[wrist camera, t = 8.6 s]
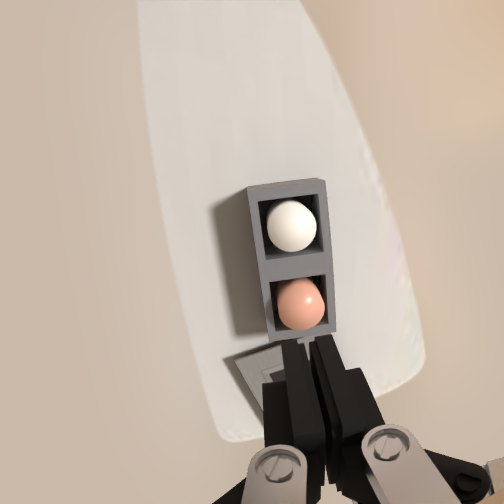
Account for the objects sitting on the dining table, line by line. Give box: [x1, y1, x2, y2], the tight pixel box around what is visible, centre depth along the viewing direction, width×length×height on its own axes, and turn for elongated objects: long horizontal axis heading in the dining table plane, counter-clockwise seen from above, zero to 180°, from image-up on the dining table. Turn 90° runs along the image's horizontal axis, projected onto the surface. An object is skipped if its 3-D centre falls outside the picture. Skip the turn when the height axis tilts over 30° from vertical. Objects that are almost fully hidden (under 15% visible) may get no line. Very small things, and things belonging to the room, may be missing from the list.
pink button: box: [276, 276, 325, 330], centre depth 29 cm, size 4×4×4 cm
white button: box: [266, 198, 316, 252], centre depth 28 cm, size 4×4×4 cm
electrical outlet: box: [234, 333, 332, 410], centre depth 35 cm, size 13×10×2 cm
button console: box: [247, 178, 336, 342], centre depth 29 cm, size 14×6×4 cm, turn 8°
